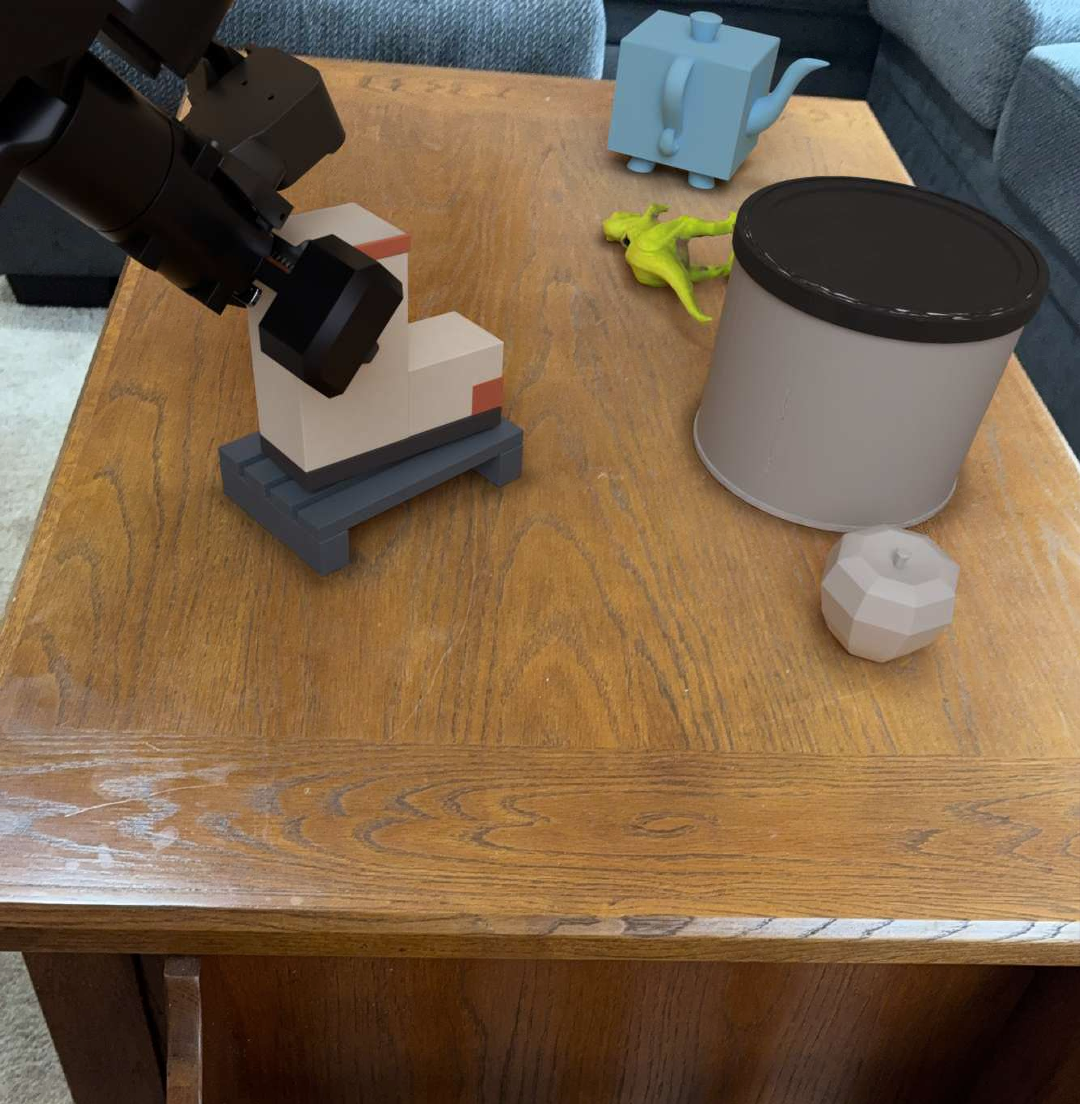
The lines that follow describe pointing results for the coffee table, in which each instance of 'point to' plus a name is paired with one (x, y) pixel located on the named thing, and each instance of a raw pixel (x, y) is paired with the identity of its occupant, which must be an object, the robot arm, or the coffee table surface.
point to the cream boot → (375, 373)
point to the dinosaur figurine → (668, 250)
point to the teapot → (697, 94)
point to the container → (860, 348)
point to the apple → (887, 591)
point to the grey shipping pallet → (355, 489)
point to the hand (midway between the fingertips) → (341, 333)
